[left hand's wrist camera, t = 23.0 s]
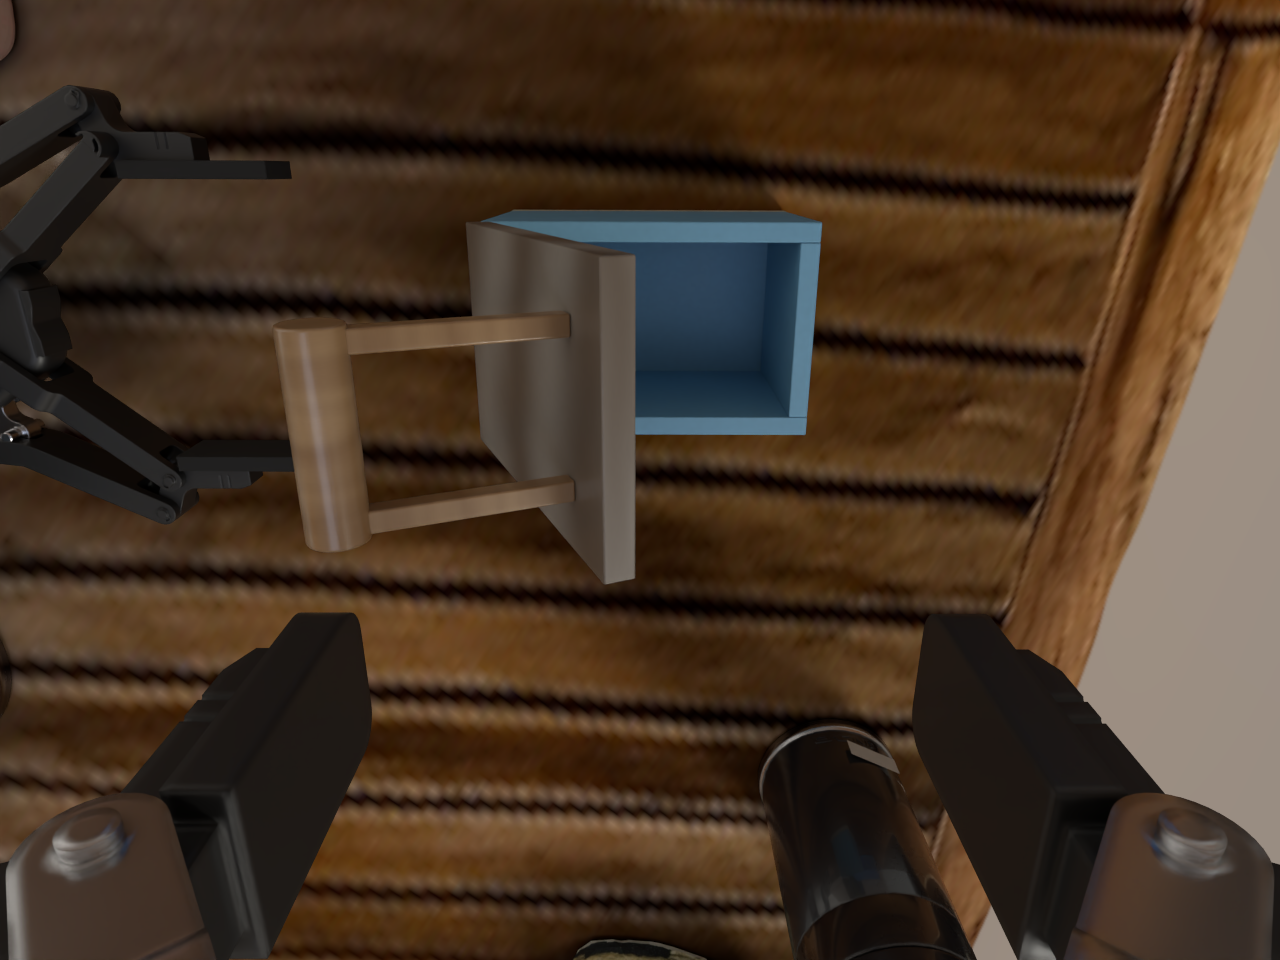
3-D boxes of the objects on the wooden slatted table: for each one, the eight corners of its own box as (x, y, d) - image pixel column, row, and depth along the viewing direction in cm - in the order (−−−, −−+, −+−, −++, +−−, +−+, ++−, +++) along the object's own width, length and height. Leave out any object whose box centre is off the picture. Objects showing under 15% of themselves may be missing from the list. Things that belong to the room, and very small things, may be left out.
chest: (783, 210, 44) (822, 221, 34) (772, 382, 47) (805, 435, 38) (514, 209, 44) (479, 220, 34) (522, 381, 47) (493, 434, 38)
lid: (636, 254, 21) (261, 269, 18) (635, 579, 24) (320, 644, 21) (490, 221, 34) (257, 226, 31) (502, 436, 37) (294, 462, 34)
